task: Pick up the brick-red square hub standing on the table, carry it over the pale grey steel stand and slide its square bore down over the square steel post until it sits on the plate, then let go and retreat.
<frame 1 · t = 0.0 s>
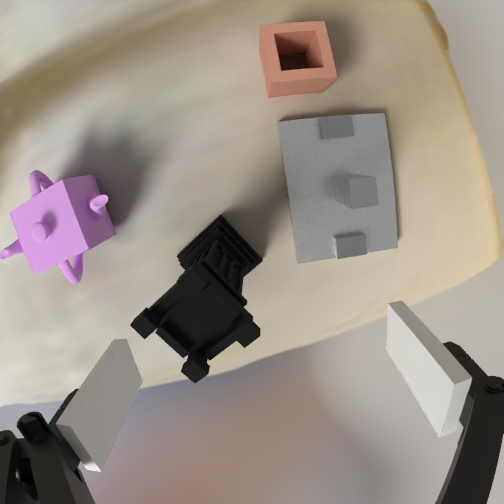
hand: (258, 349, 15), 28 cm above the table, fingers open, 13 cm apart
teapot: (81, 216, 42), on the table
chess piece: (219, 256, 43), on the table
hub: (290, 69, 36), on the table
stand: (340, 185, 40), on the table
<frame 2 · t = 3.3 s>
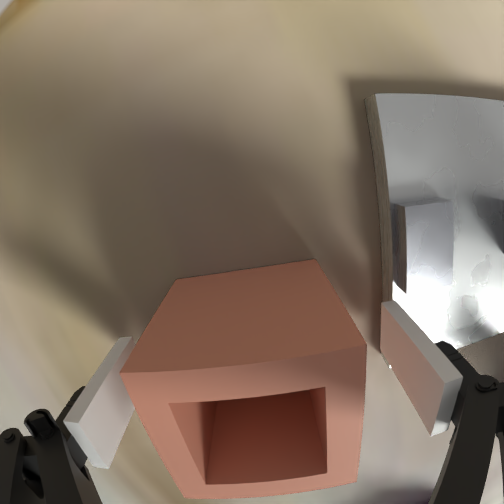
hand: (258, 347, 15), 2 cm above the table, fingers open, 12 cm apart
hub: (255, 331, 17), on the table
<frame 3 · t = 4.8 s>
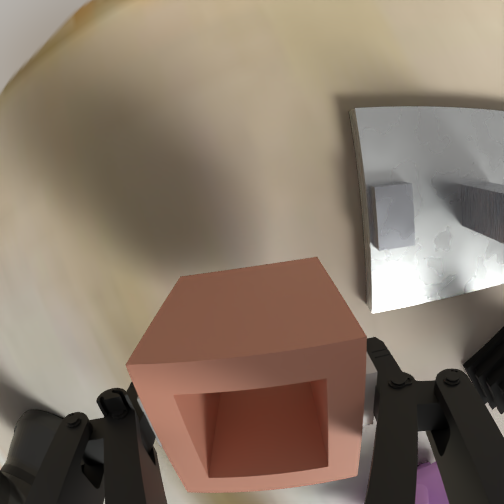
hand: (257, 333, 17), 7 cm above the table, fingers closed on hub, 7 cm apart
teapot: (403, 482, 31), on the table
chess piece: (499, 358, 25), on the table
hub: (258, 328, 17), point 6 cm above the table, touching gripper
stand: (465, 200, 21), on the table
when the fingers open (3 cm above the table, at t = 9.0 s): hub drops 2 cm, resting on stand.
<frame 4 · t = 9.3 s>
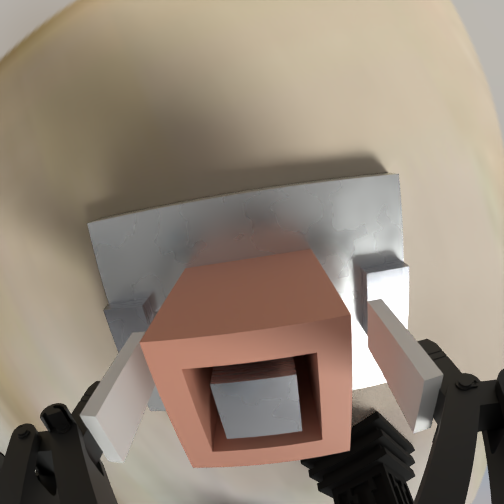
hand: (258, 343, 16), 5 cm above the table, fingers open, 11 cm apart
chess piece: (359, 451, 24), on the table
hub: (257, 316, 19), point 1 cm above the table, touching stand
stand: (257, 304, 20), on the table
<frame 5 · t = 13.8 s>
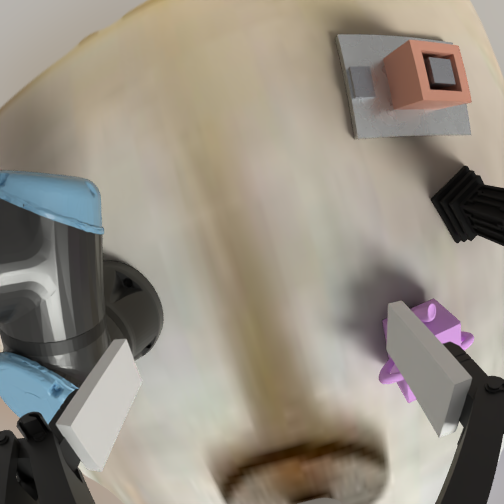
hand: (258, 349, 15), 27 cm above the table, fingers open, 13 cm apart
teapot: (408, 332, 45), on the table
chess piece: (460, 204, 39), on the table
hub: (411, 84, 34), point 1 cm above the table, touching stand
stand: (407, 86, 35), on the table
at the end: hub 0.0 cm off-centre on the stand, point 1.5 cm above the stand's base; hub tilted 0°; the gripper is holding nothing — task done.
